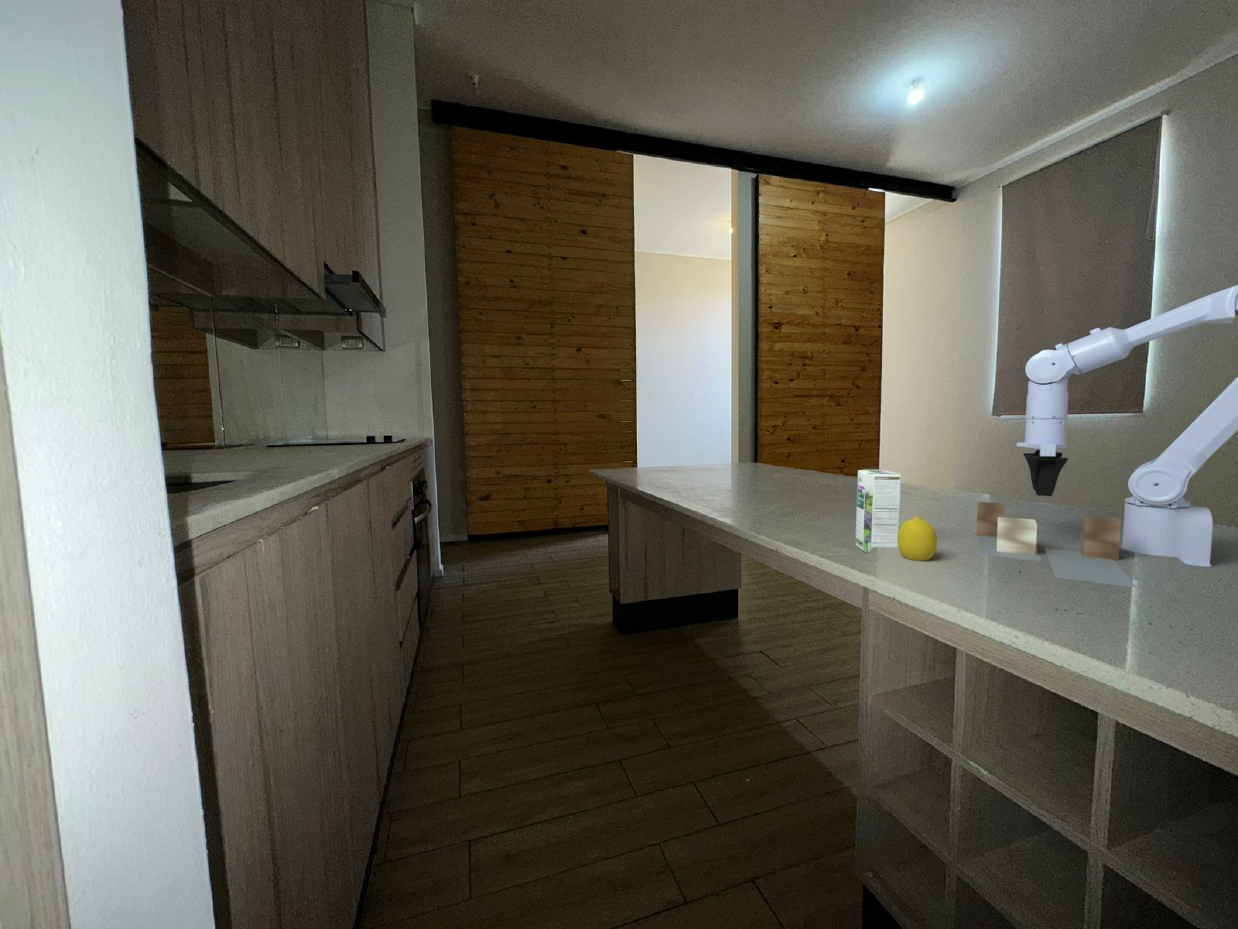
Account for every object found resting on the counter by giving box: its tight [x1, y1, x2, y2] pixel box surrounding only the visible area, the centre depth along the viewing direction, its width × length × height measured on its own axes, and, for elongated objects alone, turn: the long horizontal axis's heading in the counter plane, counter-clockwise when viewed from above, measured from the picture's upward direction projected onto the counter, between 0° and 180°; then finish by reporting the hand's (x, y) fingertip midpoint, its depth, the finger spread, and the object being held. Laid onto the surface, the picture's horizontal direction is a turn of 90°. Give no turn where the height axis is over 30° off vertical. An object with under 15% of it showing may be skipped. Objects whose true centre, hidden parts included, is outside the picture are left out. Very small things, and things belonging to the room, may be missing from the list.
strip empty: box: [1044, 515, 1137, 588], centre depth 74 cm, size 8×18×7 cm, turn 143°
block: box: [997, 516, 1038, 555], centre depth 83 cm, size 5×5×5 cm
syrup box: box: [855, 468, 902, 553], centre depth 90 cm, size 6×6×14 cm
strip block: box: [976, 501, 1042, 562], centre depth 86 cm, size 8×18×7 cm, turn 143°
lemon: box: [897, 516, 938, 562], centre depth 80 cm, size 6×6×8 cm
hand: (1042, 492), depth 91 cm, fingers open, 7 cm apart
